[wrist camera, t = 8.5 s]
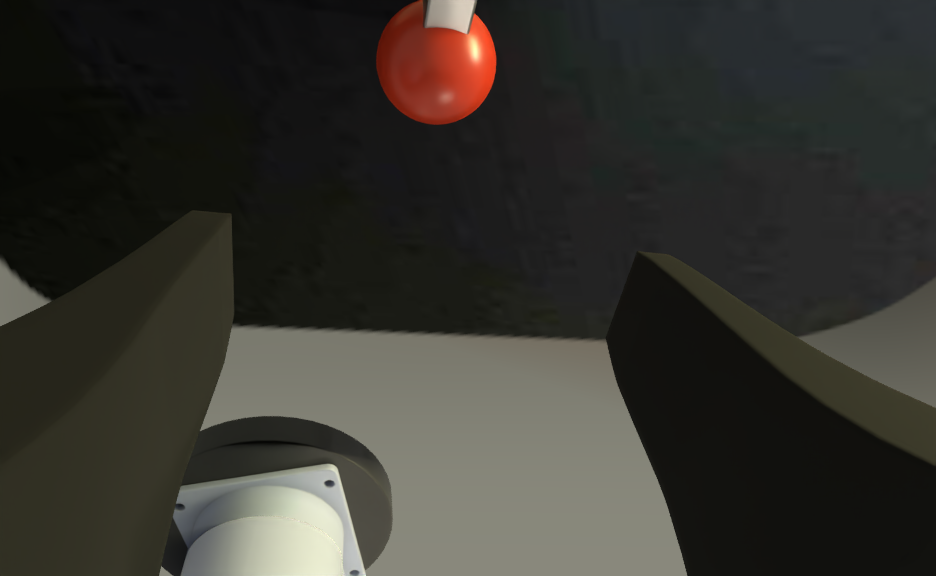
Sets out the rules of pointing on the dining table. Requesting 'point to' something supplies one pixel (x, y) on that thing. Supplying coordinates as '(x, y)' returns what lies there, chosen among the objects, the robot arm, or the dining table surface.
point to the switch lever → (436, 60)
